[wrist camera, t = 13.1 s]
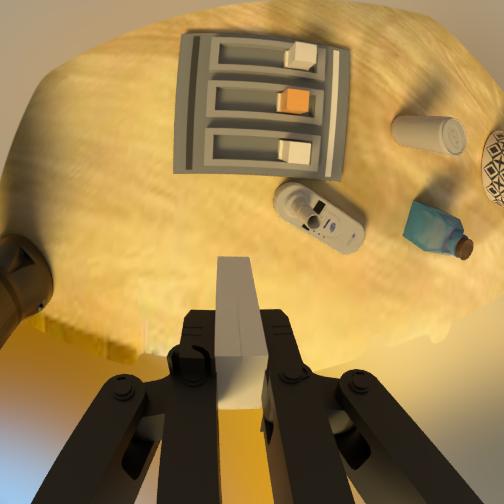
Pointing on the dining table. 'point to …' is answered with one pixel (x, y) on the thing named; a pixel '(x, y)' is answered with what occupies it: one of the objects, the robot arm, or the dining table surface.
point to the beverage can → (430, 134)
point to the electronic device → (318, 218)
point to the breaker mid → (292, 101)
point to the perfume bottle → (437, 231)
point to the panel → (256, 107)
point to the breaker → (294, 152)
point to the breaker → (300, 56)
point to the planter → (494, 168)
